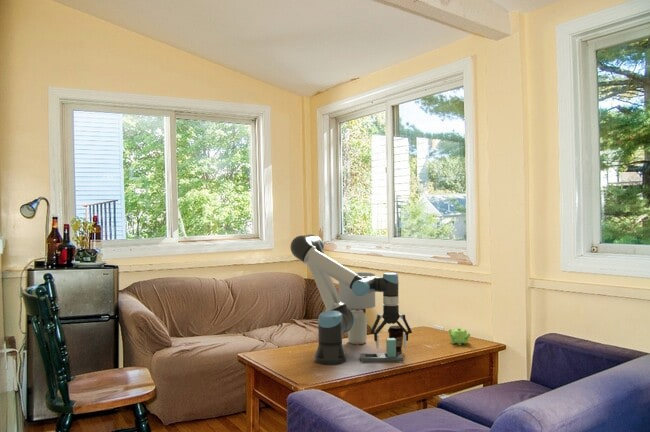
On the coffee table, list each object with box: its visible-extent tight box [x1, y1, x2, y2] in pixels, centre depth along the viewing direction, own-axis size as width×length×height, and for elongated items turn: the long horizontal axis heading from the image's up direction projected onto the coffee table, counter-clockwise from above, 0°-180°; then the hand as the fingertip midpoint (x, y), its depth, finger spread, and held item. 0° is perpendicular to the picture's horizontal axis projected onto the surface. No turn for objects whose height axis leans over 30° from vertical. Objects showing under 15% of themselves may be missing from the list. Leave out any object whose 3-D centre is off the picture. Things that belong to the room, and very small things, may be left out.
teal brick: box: [385, 337, 396, 357], centre depth 255 cm, size 4×4×10 cm
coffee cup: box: [387, 325, 405, 354], centre depth 269 cm, size 9×8×13 cm
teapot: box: [448, 327, 471, 346], centre depth 285 cm, size 11×12×8 cm
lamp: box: [338, 271, 376, 345], centre depth 289 cm, size 20×20×39 cm
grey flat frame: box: [359, 352, 404, 363], centre depth 255 cm, size 20×9×2 cm, turn 93°
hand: (391, 347), depth 255 cm, fingers open, 13 cm apart
